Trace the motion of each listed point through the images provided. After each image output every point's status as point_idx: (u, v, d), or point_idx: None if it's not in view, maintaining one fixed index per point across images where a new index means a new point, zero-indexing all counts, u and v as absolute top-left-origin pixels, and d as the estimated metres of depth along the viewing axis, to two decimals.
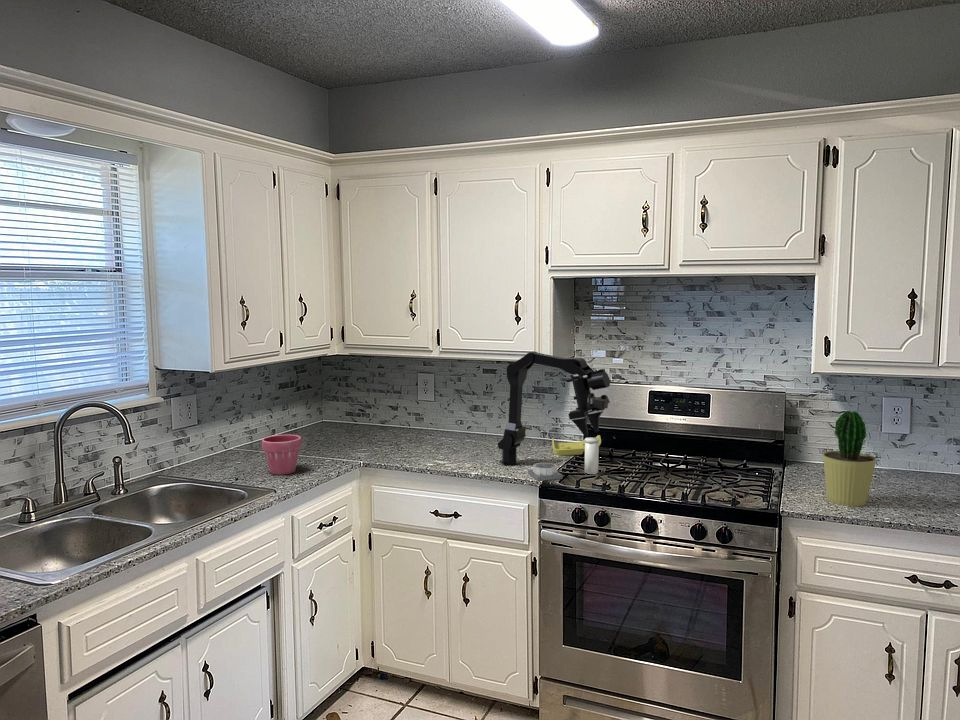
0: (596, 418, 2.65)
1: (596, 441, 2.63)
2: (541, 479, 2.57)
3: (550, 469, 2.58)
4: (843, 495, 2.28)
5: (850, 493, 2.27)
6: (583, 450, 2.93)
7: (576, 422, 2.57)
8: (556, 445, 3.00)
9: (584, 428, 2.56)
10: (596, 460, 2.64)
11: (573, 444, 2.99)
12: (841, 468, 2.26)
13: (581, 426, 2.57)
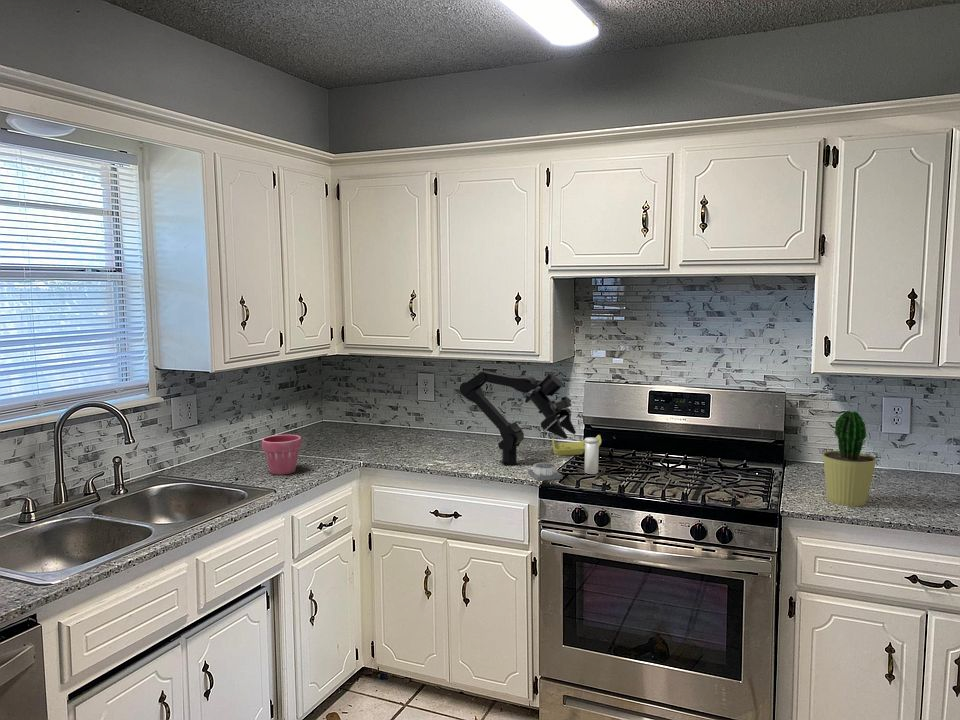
0: (568, 422, 2.74)
1: (596, 441, 2.63)
2: (541, 479, 2.57)
3: (550, 469, 2.58)
4: (843, 495, 2.28)
5: (850, 493, 2.27)
6: (583, 450, 2.93)
7: (551, 430, 2.65)
8: (556, 445, 3.00)
9: (560, 431, 2.64)
10: (596, 460, 2.64)
11: (573, 444, 3.00)
12: (841, 468, 2.26)
13: (557, 431, 2.65)
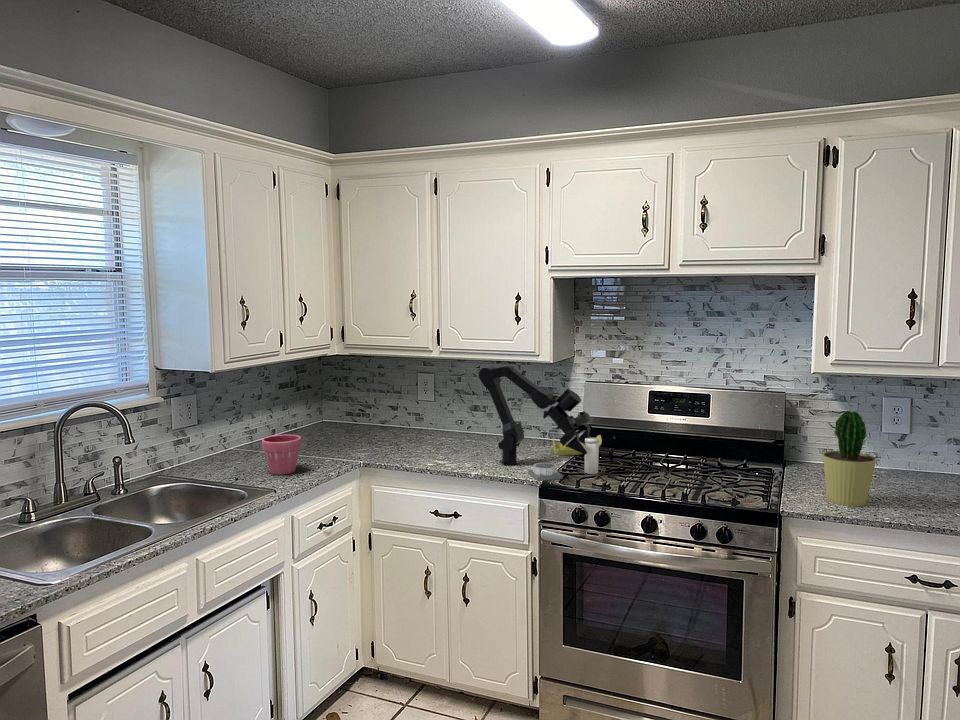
0: (586, 437, 2.71)
1: (596, 441, 2.63)
2: (541, 479, 2.57)
3: (550, 469, 2.58)
4: (843, 495, 2.28)
5: (850, 493, 2.27)
6: None
7: (570, 446, 2.62)
8: (557, 445, 3.00)
9: (580, 447, 2.62)
10: (596, 460, 2.64)
11: None
12: (841, 468, 2.26)
13: (577, 447, 2.62)
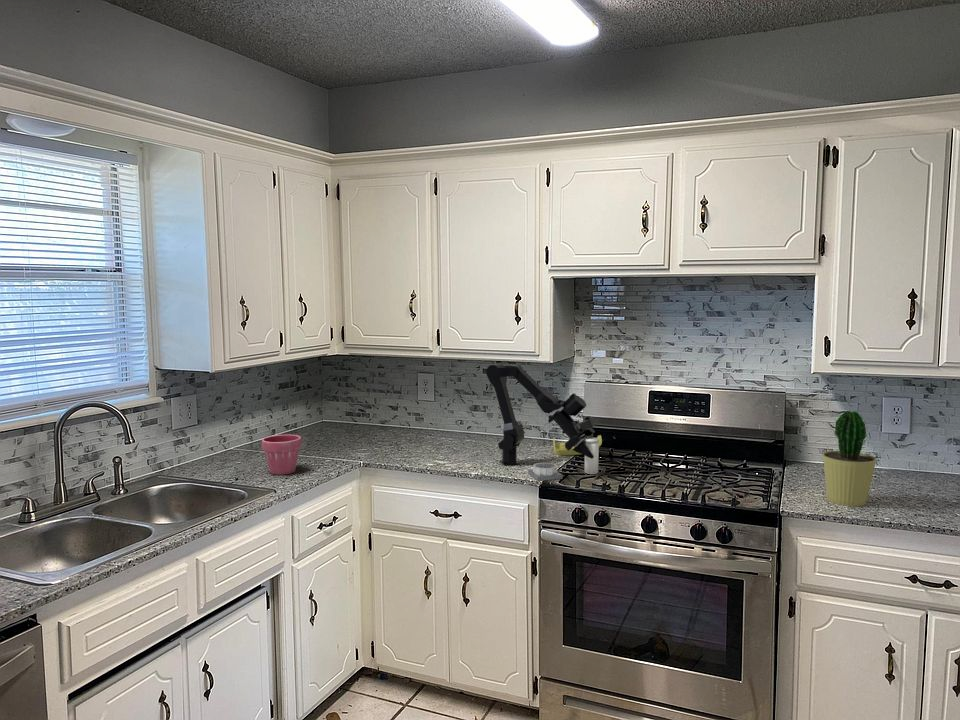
0: None
1: (596, 441, 2.63)
2: (541, 479, 2.57)
3: (550, 469, 2.58)
4: (843, 495, 2.28)
5: (850, 493, 2.27)
6: None
7: (577, 449, 2.63)
8: (557, 445, 3.00)
9: (587, 451, 2.63)
10: (596, 460, 2.64)
11: None
12: (841, 468, 2.26)
13: (583, 451, 2.63)
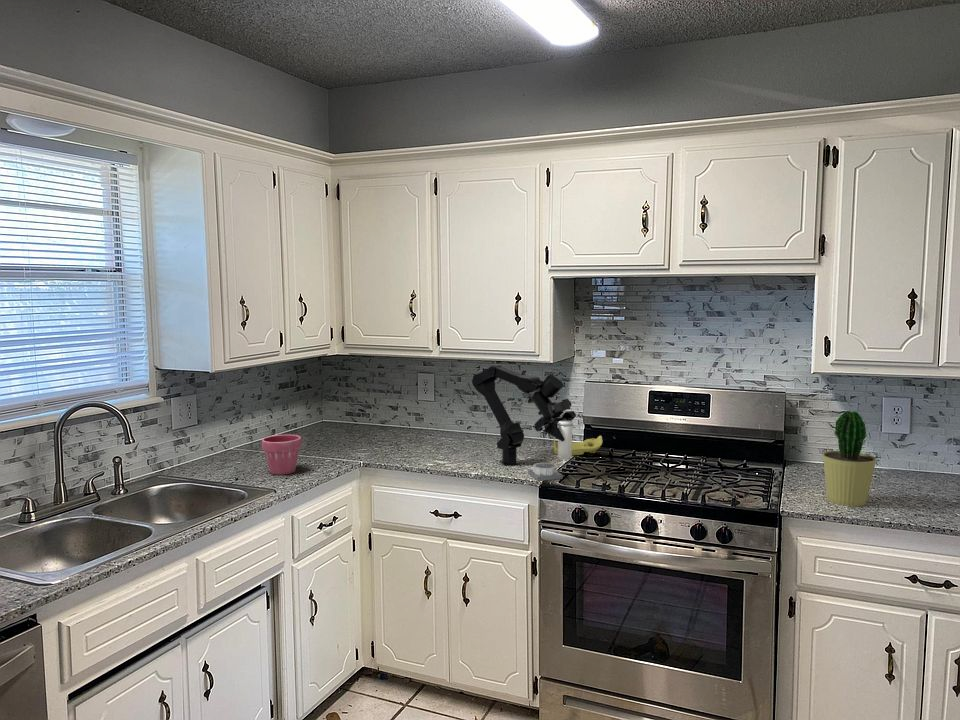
0: None
1: (568, 424, 2.58)
2: (541, 479, 2.57)
3: (550, 469, 2.58)
4: (843, 495, 2.28)
5: (850, 493, 2.27)
6: (584, 450, 2.93)
7: (548, 431, 2.61)
8: (557, 445, 3.00)
9: (557, 433, 2.59)
10: (567, 443, 2.59)
11: (574, 444, 2.99)
12: (841, 468, 2.26)
13: (554, 433, 2.60)
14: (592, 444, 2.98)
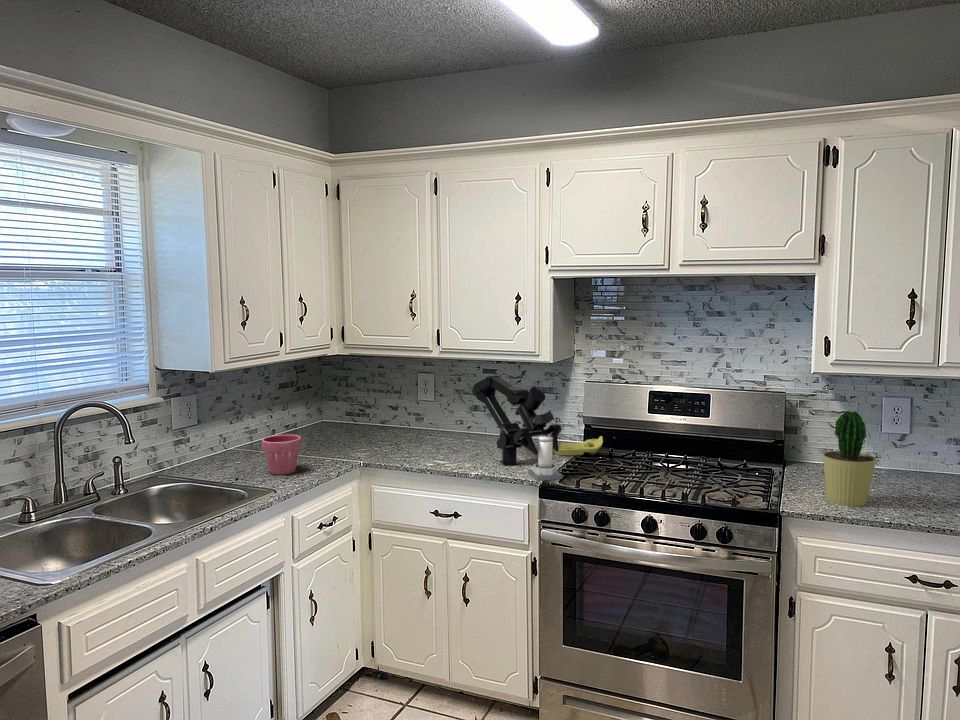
0: (553, 438, 2.65)
1: (546, 440, 2.58)
2: (541, 479, 2.57)
3: (550, 469, 2.58)
4: (843, 495, 2.28)
5: (850, 493, 2.27)
6: (583, 451, 2.92)
7: (524, 444, 2.61)
8: (558, 445, 3.00)
9: (531, 446, 2.59)
10: (546, 459, 2.59)
11: (575, 444, 2.98)
12: (841, 468, 2.26)
13: (529, 446, 2.60)
14: (593, 444, 2.97)
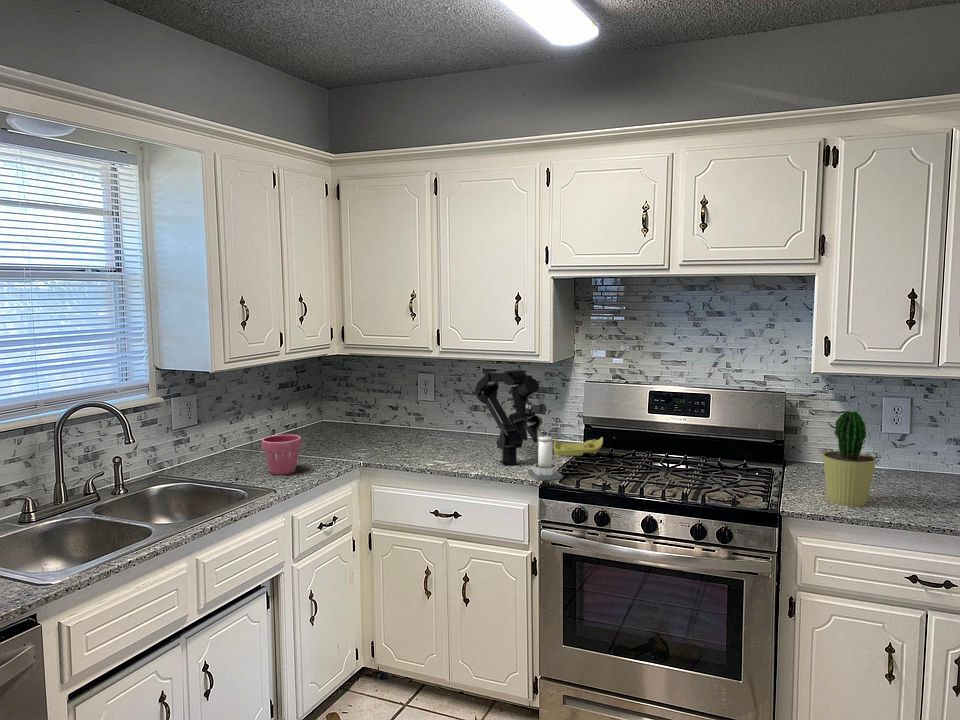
0: (534, 429, 2.72)
1: (546, 440, 2.58)
2: (541, 479, 2.57)
3: (550, 469, 2.58)
4: (843, 495, 2.28)
5: (850, 493, 2.27)
6: (583, 451, 2.91)
7: (516, 426, 2.63)
8: (559, 445, 2.99)
9: (523, 431, 2.62)
10: (546, 459, 2.59)
11: (576, 445, 2.98)
12: (841, 468, 2.26)
13: (521, 430, 2.63)
14: (593, 445, 2.95)
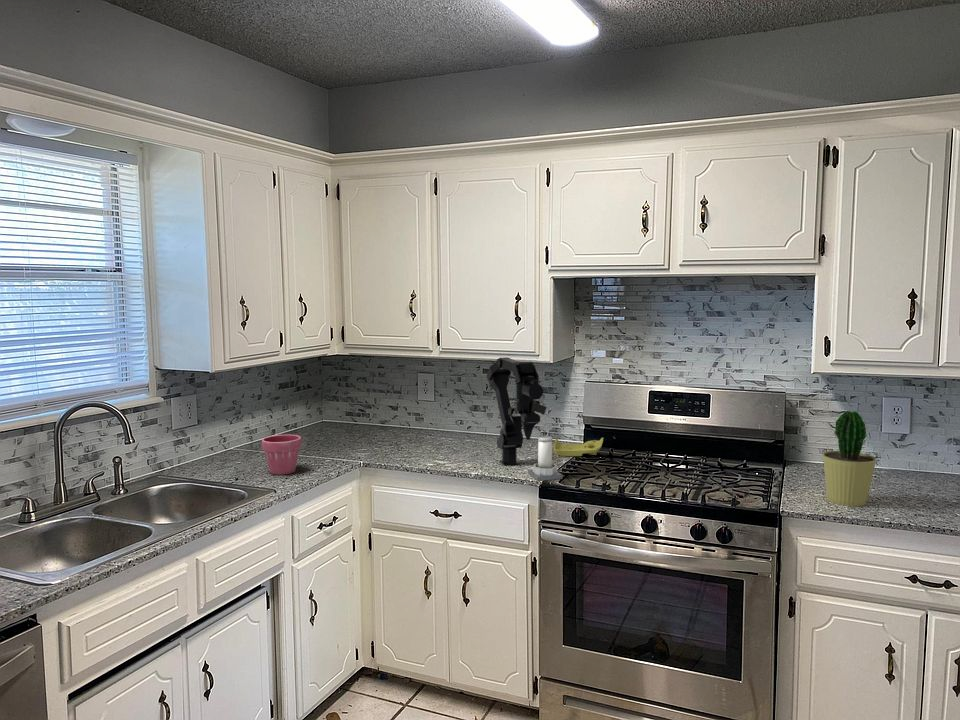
0: (521, 421, 2.72)
1: (546, 440, 2.58)
2: (541, 479, 2.57)
3: (550, 469, 2.58)
4: (843, 495, 2.28)
5: (850, 493, 2.27)
6: (582, 452, 2.90)
7: (525, 425, 2.61)
8: (559, 445, 2.99)
9: (530, 431, 2.62)
10: (545, 459, 2.59)
11: (576, 445, 2.97)
12: (841, 468, 2.26)
13: (528, 430, 2.62)
14: (593, 446, 2.94)
